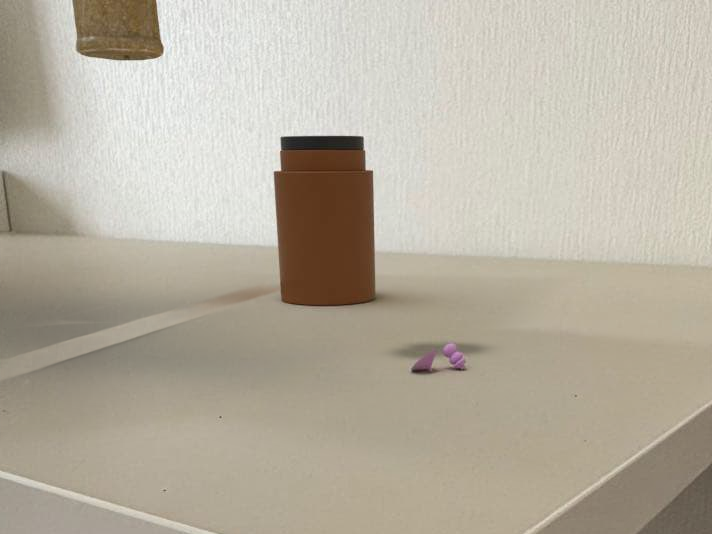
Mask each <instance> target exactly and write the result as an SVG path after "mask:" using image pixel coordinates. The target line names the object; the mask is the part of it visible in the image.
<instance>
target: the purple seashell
mask: <svg viewBox="0 0 712 534" xmlns="http://www.w3.org/2000/svg"><path fill="white" fill-rule="evenodd" d="M437 352H438V350H437V349H433V350H432V351H430V352H428V353H427V354H425V355H424V356H422V357H421V358H420V359H419V360H418V361H416V362H415V363H414V365H412V367H411V368H410V371H420V370H422V371H423V370H428V371H429V372H430V373H433V372H434V368H432V365H433V362H434V360H435V358H436V354H437ZM442 354H443V356H444V357H446V358H448V359H449V360H448V362H449V364H451V365H452V366H453V368H454V369H455V370H459V369H460V370H462V371H463V370H464V369H465V368H466V365H465V364H466V362H467V359H466V358H464V354H463V353H462V352H460V351H458V346H457V345H456V344H455V343H453V342H449V343H447V344H446V345H445V346H443V348H442Z"/></svg>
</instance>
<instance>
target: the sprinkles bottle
mask: <svg viewBox="0 0 712 534" xmlns="http://www.w3.org/2000/svg"><path fill="white" fill-rule="evenodd" d="M71 1H72V8H73V17H74V24H75V33H76V42H75V43H76V44H75V50H76V52H77V53H78V54H79V55H81V56H84V57H88V58H93V59H103V60H104V59H105V60H111V61H146V60H154V59H158V58H160V57H162V56H163V55H164V51H165V46H164V44H163V43H162V39H161V38H162V37H161V29H160V22H159V21H160V20H159V12H158V2H157V0H71Z"/></svg>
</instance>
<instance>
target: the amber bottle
mask: <svg viewBox="0 0 712 534" xmlns="http://www.w3.org/2000/svg"><path fill="white" fill-rule="evenodd" d="M279 161H280V170H274V171H273V185H274V186H273V187H274V201H275V219H276V235H277V251H278V266H279V267H278V269H279V283H280V286H279V287H280V298H281V301H283V302H284V303H289V304H293V305H301V306H345V305H355V304H363V303H367V302H370V301H373V300H375V299H376V298H377V297H376V247H375V196H374V195H375V193H374V170H371V169H367V167H366V166H367V165H366V164H367V163H366V161H367V160H366V150H365V138H364V136H362V135H291V136H290V135H286V136H280V150H279Z"/></svg>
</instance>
